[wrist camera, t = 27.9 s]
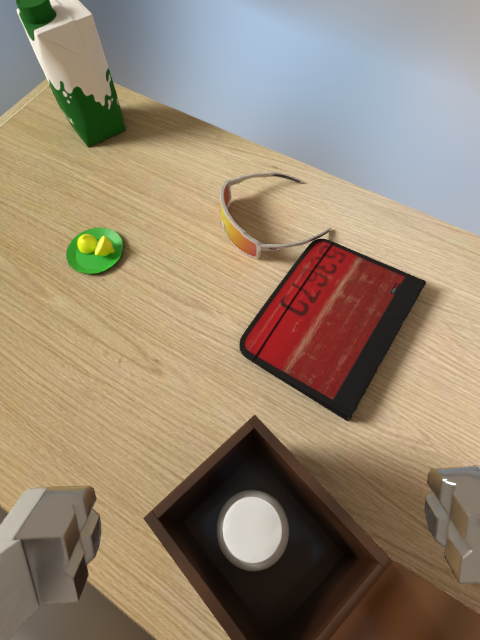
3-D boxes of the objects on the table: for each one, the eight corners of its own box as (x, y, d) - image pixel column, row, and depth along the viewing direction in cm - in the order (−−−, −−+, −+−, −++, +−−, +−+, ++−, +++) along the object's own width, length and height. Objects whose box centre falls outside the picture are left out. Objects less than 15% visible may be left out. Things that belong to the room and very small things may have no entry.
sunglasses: (205, 200, 63) (206, 174, 59) (294, 183, 67) (301, 157, 62) (237, 273, 57) (241, 250, 52) (333, 250, 61) (344, 226, 56)
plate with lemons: (128, 231, 61) (123, 218, 58) (118, 277, 57) (112, 265, 55) (75, 229, 61) (67, 216, 59) (62, 275, 58) (53, 263, 55)
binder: (428, 280, 53) (352, 418, 45) (422, 290, 55) (349, 423, 47) (316, 230, 58) (231, 347, 50) (314, 240, 60) (233, 354, 52)
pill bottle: (287, 562, 41) (297, 572, 31) (224, 567, 41) (214, 579, 31) (279, 493, 43) (286, 482, 34) (220, 499, 43) (211, 489, 34)
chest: (173, 521, 43) (143, 518, 31) (254, 444, 47) (254, 414, 35) (271, 652, 38) (279, 706, 26) (355, 554, 41) (395, 563, 30)
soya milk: (64, 124, 72) (1, -10, 54) (110, 103, 74) (65, -32, 56) (85, 153, 69) (26, 20, 51) (134, 130, 71) (93, -5, 53)
